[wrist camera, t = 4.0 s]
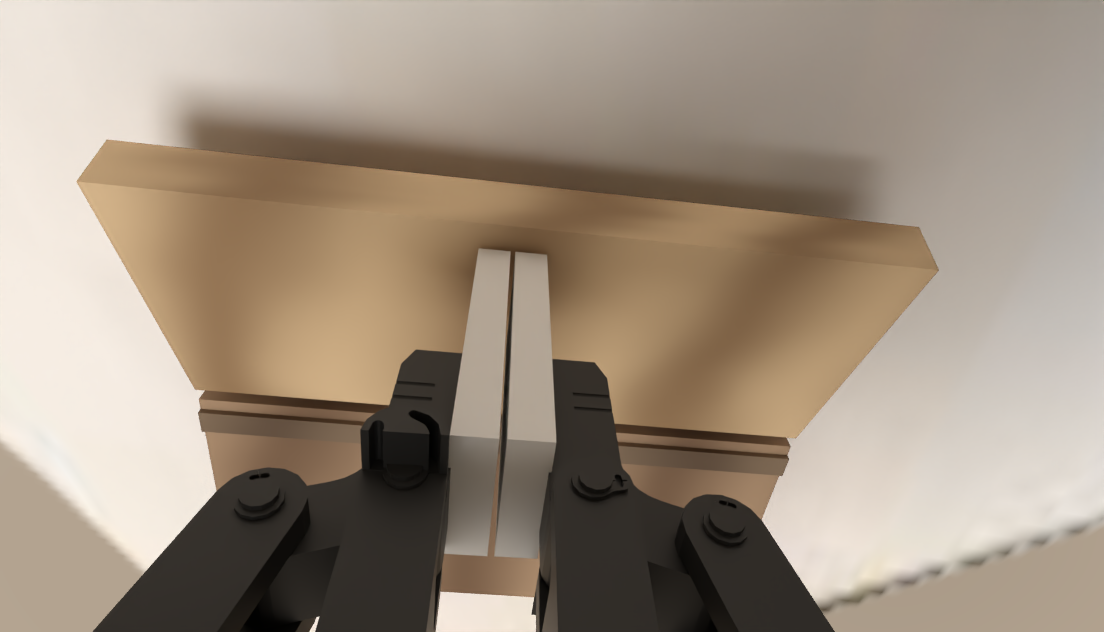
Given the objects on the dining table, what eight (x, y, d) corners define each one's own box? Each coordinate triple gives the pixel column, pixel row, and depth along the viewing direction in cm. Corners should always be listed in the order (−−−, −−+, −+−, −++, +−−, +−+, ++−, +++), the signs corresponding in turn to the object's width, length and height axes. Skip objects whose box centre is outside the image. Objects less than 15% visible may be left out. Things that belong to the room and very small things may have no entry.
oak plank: (918, 227, 17) (938, 270, 16) (787, 400, 24) (795, 438, 23) (106, 139, 15) (76, 181, 15) (211, 351, 22) (195, 389, 21)
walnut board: (777, 418, 24) (792, 450, 23) (717, 578, 29) (726, 613, 27) (218, 372, 23) (196, 403, 21) (248, 548, 27) (231, 583, 26)
